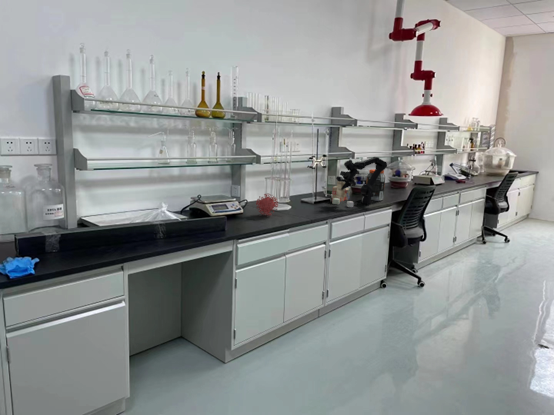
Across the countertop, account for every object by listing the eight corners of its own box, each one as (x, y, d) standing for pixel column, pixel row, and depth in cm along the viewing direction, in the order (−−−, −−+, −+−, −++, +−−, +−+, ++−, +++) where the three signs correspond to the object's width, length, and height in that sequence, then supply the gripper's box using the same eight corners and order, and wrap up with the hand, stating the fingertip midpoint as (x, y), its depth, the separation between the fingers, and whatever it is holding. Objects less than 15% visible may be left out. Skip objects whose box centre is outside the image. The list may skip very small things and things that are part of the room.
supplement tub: (386, 201, 361) (389, 171, 356) (369, 201, 357) (372, 170, 352) (378, 197, 376) (380, 169, 371) (362, 197, 372) (364, 168, 367)
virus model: (282, 216, 280) (283, 194, 277) (265, 218, 270) (266, 196, 268) (267, 212, 291) (268, 191, 288) (251, 214, 281) (252, 192, 278)
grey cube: (351, 206, 329) (352, 201, 328) (353, 207, 325) (353, 202, 324) (346, 206, 328) (347, 201, 327) (348, 207, 324) (348, 202, 324)
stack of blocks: (342, 198, 365) (344, 184, 362) (349, 199, 361) (350, 185, 359) (331, 201, 347) (332, 186, 345) (338, 202, 344) (339, 187, 342)
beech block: (340, 196, 330) (341, 181, 328) (344, 197, 326) (345, 182, 324) (336, 196, 328) (337, 181, 325) (339, 197, 324) (341, 182, 322)
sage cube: (339, 203, 339) (339, 198, 338) (338, 204, 334) (338, 199, 333) (333, 202, 340) (333, 198, 340) (332, 203, 336) (332, 199, 335)
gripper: (338, 166, 332) (326, 180, 329) (354, 168, 317) (342, 183, 313) (345, 175, 338) (333, 189, 334) (361, 178, 322) (349, 193, 319)
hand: (339, 188), depth 325 cm, fingers closed on beech block, 4 cm apart
